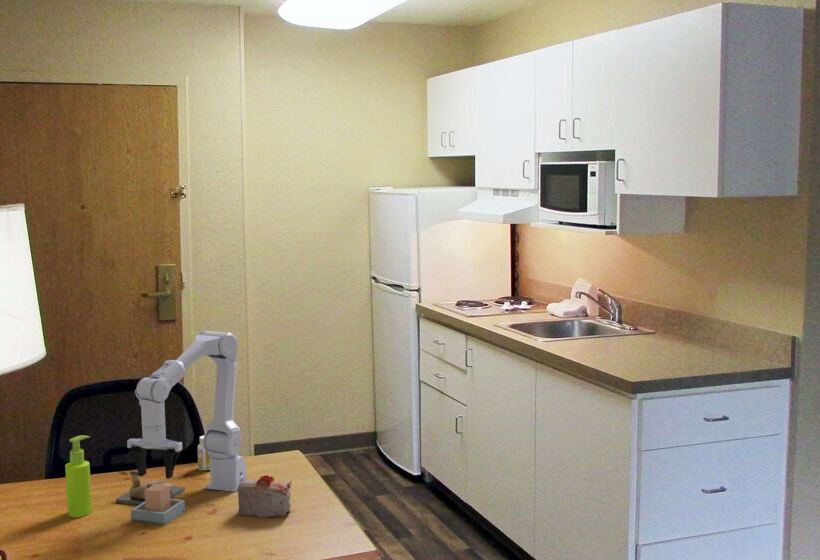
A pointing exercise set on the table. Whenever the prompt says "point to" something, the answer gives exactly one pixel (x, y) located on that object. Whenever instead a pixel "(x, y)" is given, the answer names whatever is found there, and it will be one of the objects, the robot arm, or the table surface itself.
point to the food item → (264, 497)
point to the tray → (158, 513)
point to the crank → (143, 486)
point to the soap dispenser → (78, 481)
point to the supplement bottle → (203, 457)
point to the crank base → (130, 500)
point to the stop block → (157, 498)
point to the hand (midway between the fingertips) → (156, 476)
